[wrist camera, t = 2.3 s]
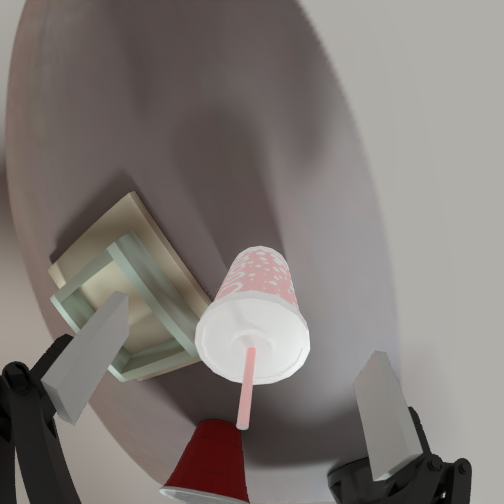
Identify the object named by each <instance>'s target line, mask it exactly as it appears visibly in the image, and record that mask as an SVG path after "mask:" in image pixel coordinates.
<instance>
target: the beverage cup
mask: <svg viewBox="0 0 504 504" xmlns="http://www.w3.org/2000/svg"><path fill="white" fill-rule="evenodd" d="M195 346H196V348H197V351H198V353H199V356H200V358H201V360H202V361H203V362H204V363H205V364H206V365H207V366H208V367H209V368H210V369H211V370H212V371H213V372H215V373H216V374H218V375H220V376H222V377H224V378H226V379H228V380H230V381H234V382H238V383H242V390H241V397H240V404H239V411H238V418H237V425H236V427H237V428H238V429H240V430H246V429H248V427H249V417H250V407H251V398H252V388H253V385H258V384H270V383H274V382H277V381H279V380H282V379H284V378H287V377H289V376H291V375H292V374H293V373H294V372H295V371H297V370H298V369H299V368H300V367H301V366H302V365H303V364H304V362H305V360H306V358H307V355H308V353H309V351H310V340H309V330H308V328H307V323H306V321H305V320H304V318H303V317H302V315H301V314H300V312H299V308H298V304H297V300H296V296H295V292H294V288H293V284H292V280H291V276H290V272H289V268H288V264H287V263H286V261H285V259H284V258H283V256H282V255H281V254H280V253H278V252H277V251H275V250H274V249H272V248H268V247H264V246H256V247H250V248H248V249H246V250H244V251H243V252H241V253H239V255H238V256H237V257H236V259H235V260H234V262H233V263H232V265H231V267H230V269H229V271H228V273H227V275H226V277H225V279H224V281H223V283H222V285H221V287H220V289H219V291H218V294H217V296H216V298H215V300H214V302H212V303H211V304H210V306H209V307H208V308H207V310H206V311H205V312H204V314H203V315H202V316H201V318H200V321H199V322H198V324H197V326H196V334H195Z"/></svg>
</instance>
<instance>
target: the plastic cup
mask: <svg viewBox="0 0 504 504" xmlns="http://www.w3.org/2000/svg"><path fill="white" fill-rule="evenodd" d="M159 491H160V492H161V493H162V494H163V495H165V496H167V497H169V498H171V499H174V500H177V501H180V502H182V503H186V504H250V502H249V499H248V494H247V487H246V482H245V470H244V458H243V451H242V441H241V434H240V430H239V429H238V428H237V427H236V426H235V425H233V424H231V423H229V422H226V421H222V420H205V421H202V422H201V423H200V424H199V425H198V427H197V428H196V430H195V432H194V434H193V436H192V438H191V440H190V442H189V443H188V445H187V446H186V448H185V450H184V452H183V454H182V456H181V458H180V460H179V462H178V464H177V466H176V468H175V470H174V472H173V473H172V474H171V476H170V478H169V479H168V480H167V482H166V484H165V485H164V486H163V487H161V488H160V489H159Z"/></svg>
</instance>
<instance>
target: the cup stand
mask: <svg viewBox="0 0 504 504" xmlns="http://www.w3.org/2000/svg"><path fill="white" fill-rule="evenodd" d="M48 272H49V274H50V275H51V277H52V278H53V280H54V281H55V283H56V284H57V286H58V287H59V290H58V291H57V292H56V293H55V294H54V295H53V296H52V297H51V298H50V300H51V301H52V303H53V304H54V305H55V307H56V308H57V310H58V311H59V312H60V314H61V315H62V316H63V317H64V319H65V320H66V321H67V323H68V324H69V325H70V326H71V328H72V329H73V330H74V331H75V333H76V334H77V333H78V332H79V331H80V330H81V329H82V328H83V326H84V325H85V324H86V323H87V322H88V321H89V319H90V318H91V317H92V316H93V315H94V314H95V312H96V311H97V310H98V309H99V308H100V307H101V306H102V305H103V303H104V302H105V301H106V300H107V299H108V298H109V297H110V296H111V294H112V293H113V292H114V291H115V290H116V291H119V292H122V293H125V294H128V315H129V336H128V337H127V339H126V340H125V342H124V343H123V345H122V346H121V348H120V350H119V351H118V353H117V354H116V356H115V358H114V359H113V361H112V362H111V364H110V366H109V367H108V370H109V371H110V372H111V373H112V374H113V375H114V376H115V377H116V378H117V379H118V380H119V381H120V382H121V383H122V382H125V381H128V380H132V379H135V378H136V379H137V380H138V381H142V380H145V379H148V378H152V377H155V376H158V375H161V374H164V373H167V372H170V371H173V370H176V369H179V368H182V367H185V366H188V365H191V364H194V363H196V362H199V361H202V360H201V358H200V356H199V353H198V351H197V348H196V346H195V334H196V326H197V324H198V322H199V321H200V318H201V316H202V315H203V314H204V312H205V311H206V310H207V308H208V307H209V306H210V304H211V303H212V301H211V300H210V299H209V297H208V296H207V295H206V293H205V292H204V291H203V289H202V288H201V287H200V285H199V284H198V282H197V281H196V280H195V278H194V277H193V276H192V274H191V273H190V271H189V270H188V269H187V267H186V266H185V265H184V263H183V262H182V260H181V259H180V257H179V256H178V255H177V253H176V252H175V250H174V249H173V247H172V246H171V245H170V243H169V242H168V240H167V239H166V237H165V236H164V234H163V233H162V231H161V230H160V229H159V227H158V226H157V224H156V223H155V221H154V220H153V218H152V217H151V215H150V214H149V212H148V210H147V209H146V207H145V206H144V204H143V203H142V201H141V200H140V198H139V197H138V195H137V193H136V192H135V191H132V192H130V193H128V194H127V195H126V196H124V197H123V198H122V199H121V200H120V201H119V202H117V203H116V204H115V205H114V206H113V207H112V208H111V209H109V210H108V211H107V212H106V213H105V214H104V215H103V216H102V217H100V218H99V219H98V220H97V221H96V222H95V223H94V224H93V225H92V226H91V227H90V228H89V229H88V230H87V231H86V232H84V233H83V234H82V235H81V236H80V237H79V238H78V239H77V240H76V241H75V242H74V243H73V244H72V245H71V246H70V247H69V248H68V249H67V250H66V251H65V252H64V253H63V255H62V256H61V257H60V258H59V259H58V260H57V261H56V262H55V263H54V264H53V265H52V266H51V267H50V268H49V270H48Z"/></svg>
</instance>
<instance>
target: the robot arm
mask: <svg viewBox="0 0 504 504" xmlns="http://www.w3.org/2000/svg"><path fill="white" fill-rule="evenodd" d="M128 336H129V315H128V294H125V293H122V292H119V291H116V290H115V291H114V292H113V293H112V294H111V296H110V297H109V298H108V299H107V300H106V301H105V302H104V303H103V305H102V306H101V307H100V308H99V309H98V310H97V311H96V312H95V314H94V315H93V316H92V317H91V318H90V319H89V321H88V322H87V323H86V324H85V325H84V326H83V328H82V329H81V330H80V331H79V332H78V333H77V335H76V336H75V337H72V336H70V335H68V334H64V335H63V336H61V337H59V338H57V339H56V340H55V341H54V343H53V344H52V345H51V347H49V348H48V350H47V351H46V353H44V354H43V356H42V357H41V358H40V359H39V361H38V362H37V363H36V364H35V365H34V367H33V368H32V369H31V370H30V371H29V368H28V367H27V366H26V365H25V364H24V363H22V362H17V361H15V362H11V363H9V364H7V365H6V366H5V367H4V369H3V371H2V376H1V375H0V504H17V501H16V490H15V447H16V452H17V457H18V461H19V466H20V470H21V474H22V478H23V482H24V485H25V489H26V492H27V495H28V498H29V501H30V504H81V501H80V499H79V497H78V494H77V492H76V489H75V487H74V484H73V482H72V479H71V476H70V473H69V470H68V468H67V465H66V461H65V458H64V455H63V452H62V448H61V445H60V441H59V437H58V433H57V429H56V425H55V421H54V418H53V416H54V414H55V413H56V412H57V414H58V415H59V417H60V418H61V419H63V420H64V421H66V422H68V423H70V424H72V425H75V423H76V422H77V420H78V418H79V416H80V414H81V413H82V411H83V409H84V407H85V406H86V404H87V402H88V400H89V399H90V397H91V395H92V394H93V392H94V390H95V389H96V387H97V385H98V384H99V382H100V380H101V379H102V377H103V375H104V374H105V372H106V370H107V369H108V367H109V366H110V364H111V362H112V361H113V359H114V358H115V356H116V354H117V353H118V351H119V350H120V348H121V346H122V345H123V343H124V342H125V340H126V339H127V337H128ZM353 387H354V391H355V395H356V400H357V404H358V408H359V412H360V417H361V421H362V426H363V430H364V435H365V440H366V444H367V449H368V454H369V458H366V459H362V460H359V461H356V462H353V463H350V464H348V465H345V466H343V467H341V468H339V469H337V470H335V471H334V472H332V473H331V474H330V475H329V476H328V487H329V490H330V492H331V493H332V495H333V497H334V499H335V501H336V503H337V504H469V503H470V492H471V477H472V468H471V464H470V462H469V461H468V460H467V459H465V458H460V459H458V460H457V461H455V462H454V463H446V462H443V461H442V459H441V458H440V457H439V456H438V455H435V454H432V453H431V451H430V448H429V445H428V442H427V439H426V436H425V433H424V430H422V429H423V428H422V425H421V424H420V419H419V417H418V414H417V413H416V411H415V410H414V409H413V408H412V407H407V404H406V401H405V399H404V396H403V393H402V391H401V388H400V386H399V383H398V381H397V378H396V376H395V373H394V371H393V368H392V366H391V364H390V361H389V359H388V356H387V354H386V352H379V351H374V353H373V354H372V356H371V357H370V359H369V360H368V362H367V363H366V365H365V366H364V368H363V369H362V371H361V372H360V374H359V375H358V377H357V378H356V380H355V381H354V383H353ZM445 492H446V494H445V497H444V498H443V497H442V496H443V493H445Z"/></svg>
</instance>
